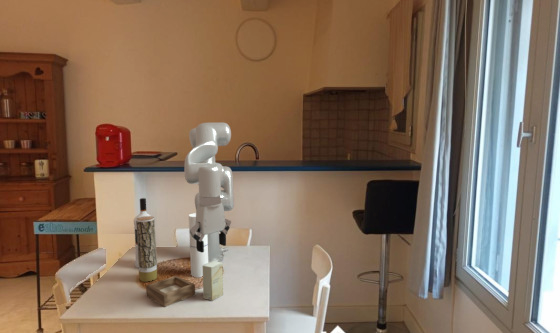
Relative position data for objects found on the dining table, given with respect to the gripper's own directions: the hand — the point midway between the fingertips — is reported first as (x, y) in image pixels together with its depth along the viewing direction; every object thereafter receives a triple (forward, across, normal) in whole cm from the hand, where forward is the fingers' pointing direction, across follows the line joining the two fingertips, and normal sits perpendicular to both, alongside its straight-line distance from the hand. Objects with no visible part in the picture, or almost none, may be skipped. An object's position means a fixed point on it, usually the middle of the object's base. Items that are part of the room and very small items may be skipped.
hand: (211, 248), depth 141 cm
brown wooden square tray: (+18, +10, -12) cm, 24 cm away
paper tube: (+18, +8, -32) cm, 38 cm away
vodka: (+18, +1, -47) cm, 50 cm away
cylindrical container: (+18, -9, -21) cm, 29 cm away
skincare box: (+18, 0, 0) cm, 18 cm away
